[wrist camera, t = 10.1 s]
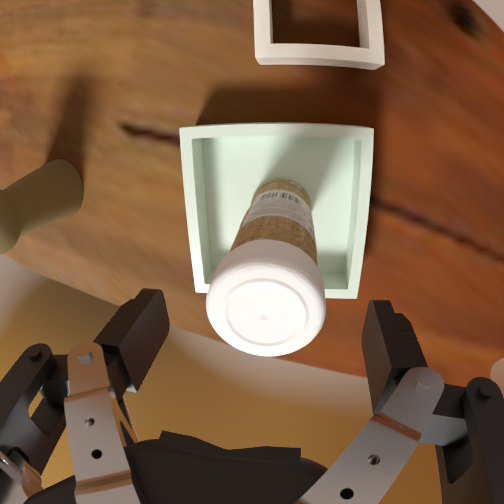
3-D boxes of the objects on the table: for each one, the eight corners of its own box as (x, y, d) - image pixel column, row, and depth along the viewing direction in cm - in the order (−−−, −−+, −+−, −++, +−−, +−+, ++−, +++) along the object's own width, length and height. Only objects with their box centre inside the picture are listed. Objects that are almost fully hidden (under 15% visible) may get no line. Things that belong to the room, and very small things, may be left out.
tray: (362, 125, 21) (373, 128, 18) (350, 276, 26) (356, 298, 23) (195, 125, 22) (179, 128, 19) (206, 270, 28) (195, 292, 25)
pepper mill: (35, 169, 25) (-45, 205, 16) (72, 150, 24) (-17, 181, 14) (52, 222, 28) (-20, 271, 18) (91, 209, 27) (12, 261, 17)
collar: (366, -23, 15) (374, -38, 12) (373, 69, 19) (384, 64, 16) (256, -28, 16) (251, -44, 13) (260, 64, 20) (255, 58, 17)
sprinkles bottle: (243, 221, 24) (189, 335, 12) (265, 167, 22) (224, 240, 10) (297, 243, 24) (293, 373, 12) (322, 191, 22) (350, 291, 10)
